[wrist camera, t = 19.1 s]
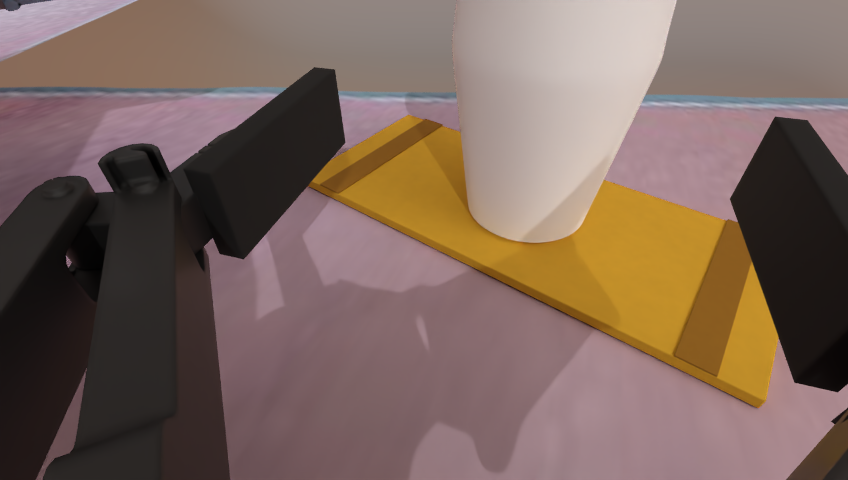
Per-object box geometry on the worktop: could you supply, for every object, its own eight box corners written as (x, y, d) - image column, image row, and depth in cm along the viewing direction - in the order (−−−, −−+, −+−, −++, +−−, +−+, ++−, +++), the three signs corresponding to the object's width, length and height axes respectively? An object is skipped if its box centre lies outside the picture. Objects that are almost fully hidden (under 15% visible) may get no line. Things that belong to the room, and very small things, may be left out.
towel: (303, 184, 29) (301, 175, 29) (408, 121, 36) (408, 113, 35) (758, 409, 17) (767, 400, 17) (791, 252, 24) (798, 242, 23)
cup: (490, 152, 31) (510, -55, 23) (625, 193, 27) (705, -39, 19) (417, 222, 25) (410, -22, 17) (574, 286, 21) (659, 11, 13)
